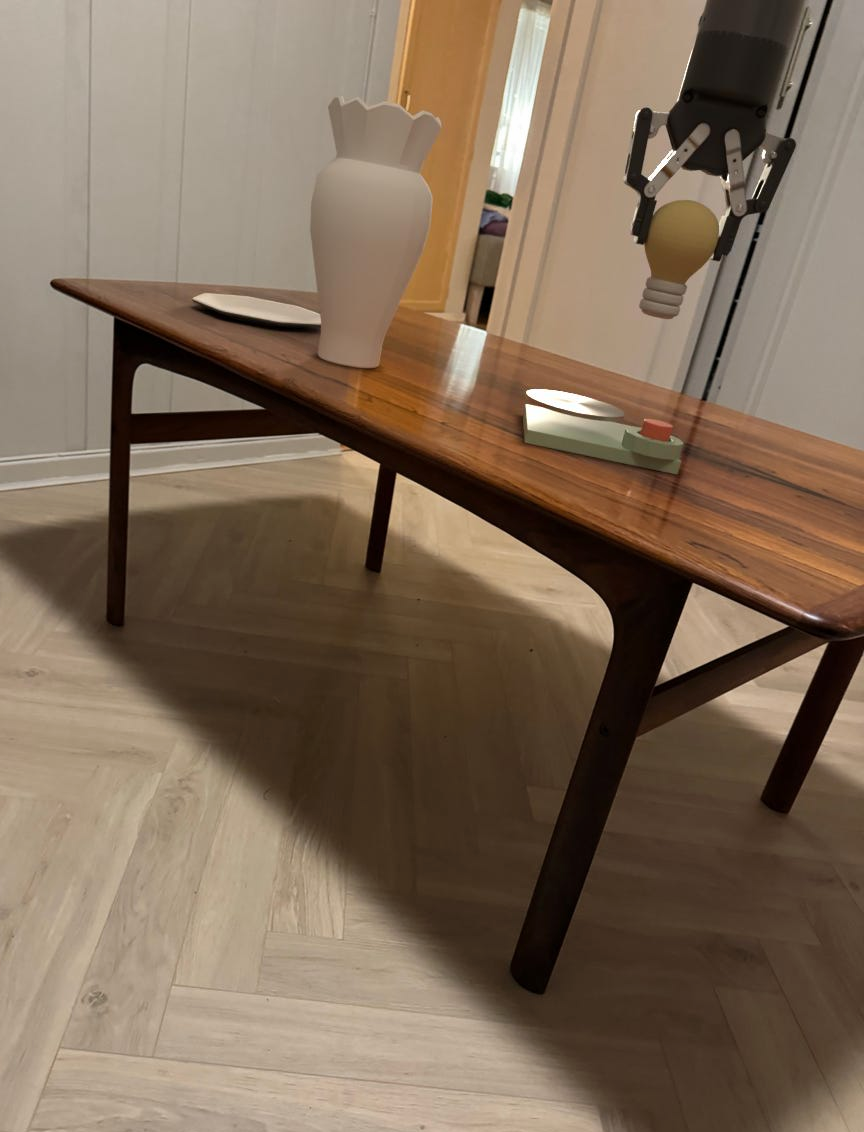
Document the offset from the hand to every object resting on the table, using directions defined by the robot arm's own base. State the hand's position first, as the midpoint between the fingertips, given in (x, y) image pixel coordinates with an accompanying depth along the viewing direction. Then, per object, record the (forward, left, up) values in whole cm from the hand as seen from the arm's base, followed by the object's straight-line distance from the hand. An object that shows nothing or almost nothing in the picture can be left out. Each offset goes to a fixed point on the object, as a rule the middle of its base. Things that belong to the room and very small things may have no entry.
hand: (676, 251), depth 83 cm
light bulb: (0, 0, -6) cm, 6 cm away
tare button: (-4, -4, -18) cm, 18 cm away
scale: (+1, -9, -20) cm, 22 cm away
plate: (+49, -49, -20) cm, 72 cm away
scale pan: (+4, -11, -17) cm, 21 cm away
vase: (+32, -28, -20) cm, 47 cm away
